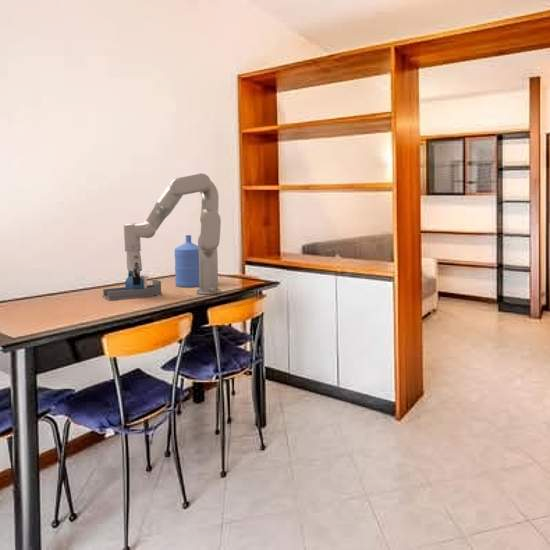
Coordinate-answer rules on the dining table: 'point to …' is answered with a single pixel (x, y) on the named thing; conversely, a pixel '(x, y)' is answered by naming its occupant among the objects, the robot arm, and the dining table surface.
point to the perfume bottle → (132, 283)
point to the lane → (133, 291)
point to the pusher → (144, 280)
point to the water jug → (187, 264)
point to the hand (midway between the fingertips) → (134, 283)
